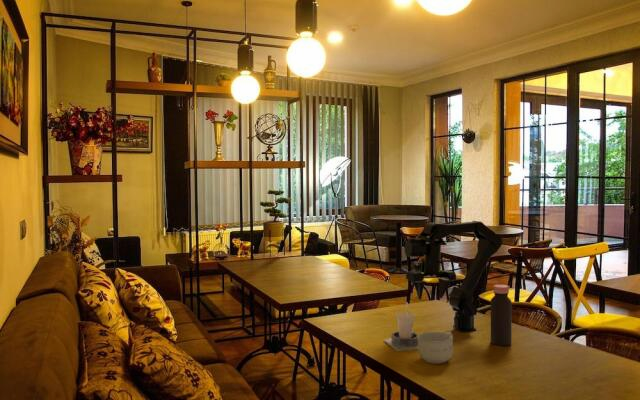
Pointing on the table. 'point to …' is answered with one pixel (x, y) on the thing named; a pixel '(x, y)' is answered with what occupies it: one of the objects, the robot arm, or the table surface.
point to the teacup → (435, 346)
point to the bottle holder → (402, 342)
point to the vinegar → (501, 316)
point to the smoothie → (405, 323)
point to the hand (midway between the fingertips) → (430, 298)
